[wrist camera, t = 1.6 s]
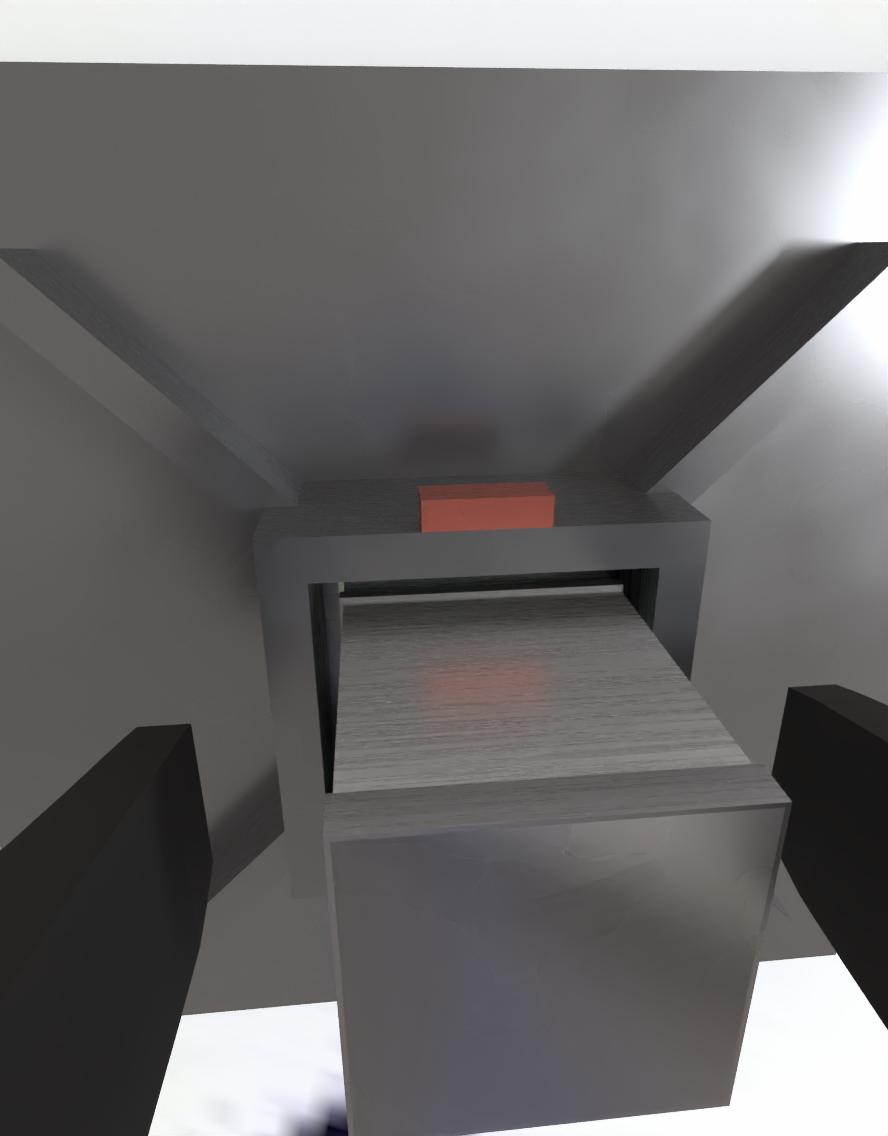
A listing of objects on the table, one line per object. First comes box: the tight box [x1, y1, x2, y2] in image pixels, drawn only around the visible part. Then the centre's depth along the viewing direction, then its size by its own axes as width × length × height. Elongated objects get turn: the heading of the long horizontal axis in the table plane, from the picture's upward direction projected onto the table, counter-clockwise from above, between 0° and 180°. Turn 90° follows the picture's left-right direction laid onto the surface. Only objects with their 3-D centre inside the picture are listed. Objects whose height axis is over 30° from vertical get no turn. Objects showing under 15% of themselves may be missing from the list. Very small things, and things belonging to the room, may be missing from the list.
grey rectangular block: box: [323, 570, 792, 1136], centre depth 10 cm, size 4×4×6 cm
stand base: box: [0, 62, 888, 1015], centre depth 12 cm, size 16×16×3 cm
